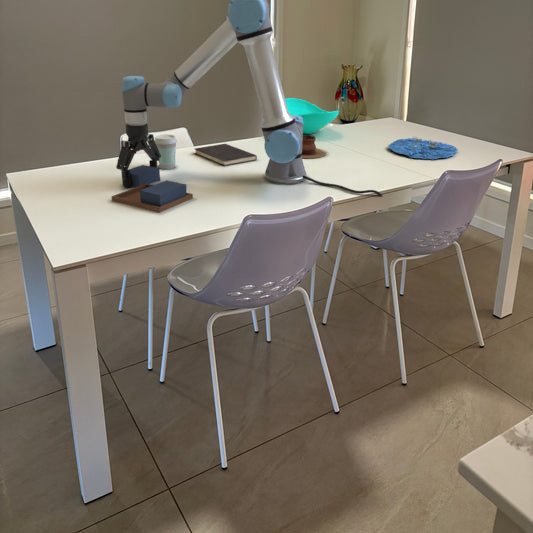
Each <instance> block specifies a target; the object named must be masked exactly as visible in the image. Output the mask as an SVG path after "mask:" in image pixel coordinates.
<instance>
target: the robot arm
mask: <svg viewBox="0 0 533 533" xmlns="http://www.w3.org/2000/svg"><path fill="white" fill-rule="evenodd" d="M270 16H271V6H270V2H269V0H230V2H229V4H228V7H227V14H226V20H225V21H224V22H223V23H222V24H221V25H220V26H219V27H218V28H217V29H216V30H215V31H214V32H213V33H211V35H210V36H209V37H207V39H206V40H205V41H204V42H203V43H202V44H201V45H200V46H199V47H198V48H197V49H196V50H194V52H193V53H192V54H191V55H190V56H189V57H188V58H187V59H186V60H185V61H184V62H183V63H182V64H181V65H180V66H179V67H178V68H177V69H176V70H175V71H173V73H172V74H171V75H169V77H168V78H167V79H165V80H163V81H162V82H161V83H150V82H146V81H145V77H144V76H141V75H128V76H124V77H122V79H121V93H122V101H123V112H124V123H125V135H126V136H127V140H123V139H122V140H121V141H120V145H121V146H120V151H119V154H118V158H117V163H116V166H115V167H116V169H117V170H120V172H122V173H121V179H122V178H123V180H124V186H123V187H124V189H125V188H126V189H132V187H131V178H130V170H129V169H130V166H131V163H132V161H133V158H134V156H135V155H136V154H137V153H138V152H140V151H144V153H145V154H146V156H148V157H149V159H150V160H148V161H149V166H151V167H156V168H159V166H158V162H159V160H160V159H159V158H161V154H160V152H159V150H158V147H157V145H156V143H155V136H154V134H152V133H149V127H148V126H149V125H148V110H147V107H153V108H155V107H156V108H169V109H172V108H179V107H180V106H181V105H182V104H181V103H182V99H183V96H184V95H185V94H186V93H187V92H188V91H189V90H190V89H191V88H192V86H194V85H195V84H196V83H197V82H198V81H199V80H201V78H202V77H203V76H204V75H205V74H206V73H207V72H208V71H209V70H211V69H212V68H213V66H214V65H216V63H218V62H219V61H220V60H221V59H222V58H223V57H224V56H225V55H226V54H227V53H228V52H229V51H230V50H231V49H232V48H234V46H235V45H236V44H240V45H242V46H243V48H244V51H245V55H246V59H247V62H248V67H249V70H250V74H251V77H252V81H253V85H254V89H255V92H256V96H257V100H258V104H259V106H260V110H261V113H262V118H263V121H262V123H261V125H260V128H261V132H262V136H263V139H264V151H265V153H266V156H267V157H268V158H269V159H268V162H267V165H266V167H265V168H266V169H265V172H264V179H265V180H266V181H268V182H269V183H273V184H280V185H292V184H293V185H294V184H299V183H303V182H304V181H306V180H308V181H310V182H312V183H314V184H317V185H321V186H325V187H326V186H327V187H332V188H338V189H342V190H344V191H347V192H350V193H352V194H353V193H354V194H368V193H369V194H370V193H372V194H376V195H377V196H379V197H380V198H383V197H384V196H383V194H382V193H381V192H379V191H377V190H375V189H366V190H355V189H351V188H348V187H346V186H343V185H340V184H335V183H328V182H322V181H318V180H315V179H313V178H311V177H309V176H307V171H306V167H305V164H304V161H303V158H302V138H303V135H304V134H303V125H304V124H303V118H302V117H301V116H295V115H291V114H290V113H289V112H288V108H287V104H286V100H285V99H286V96H285V92H284V89H283V85H282V81H281V76H280V74H279V73H280V72H279V68H278V64H277V61H276V57H275V53H274V50H273V46H272V42H271V37H272V35H273V33H274V30H273V25H272V22H271V18H270Z"/></svg>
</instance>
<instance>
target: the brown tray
mask: <svg viewBox="0 0 533 533" xmlns="http://www.w3.org/2000/svg"><path fill="white" fill-rule="evenodd" d="M153 185H154V184H143V185H141V186H138V187H132V188H129V189H127V190H124V191H122V192H119V193H116V194H114V195H111V201H112V202H115V203H119V204H123V205H127V206H132V207H135V208H139V209H143V210H147V211H151V212H155V213H162V212H165V211H167V210H169V209H171V208H174V207H177V206H178V205H181V204H183V203H185V202H188V201H190V200H192V199H194V193H190V192H187V195H186V196H184V197H181V198H179V199H177V200H174V201H172V202H170V203H167V204H165V205H163V206H160V207H158V206H153V205H149V204H145V203H141V200H140V190H142V189H145V188H148V187H150V186H153Z"/></svg>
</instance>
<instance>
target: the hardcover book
mask: <svg viewBox="0 0 533 533" xmlns="http://www.w3.org/2000/svg"><path fill="white" fill-rule="evenodd" d="M194 150H195V153H194V155H197V156H199V157H201V158H204V159H206V160H208V161H211V162H213V163H216V164H218V165H220V166H223V167H228V166H233V165H239V164H244V163H249V162H250V163H251V162H255V161H257V159H258V156H257V155H256V154H254V153H253V152H249V151H246V150H244V149H241V148H238V147H236V146H233V145H231V144H227V143H221V144H214V145H208V146H202V147H196V148H194Z"/></svg>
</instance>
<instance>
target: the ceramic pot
mask: <svg viewBox="0 0 533 533" xmlns="http://www.w3.org/2000/svg"><path fill="white" fill-rule="evenodd" d="M316 139H317V138H316V136H315V135H311V134H303V138H302V159H316V158H321V157H325V156H326V155H327V152H326V151H324V150H322V149H321V148H320V149H319V148H317V146H316V143H315V142H316Z"/></svg>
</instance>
